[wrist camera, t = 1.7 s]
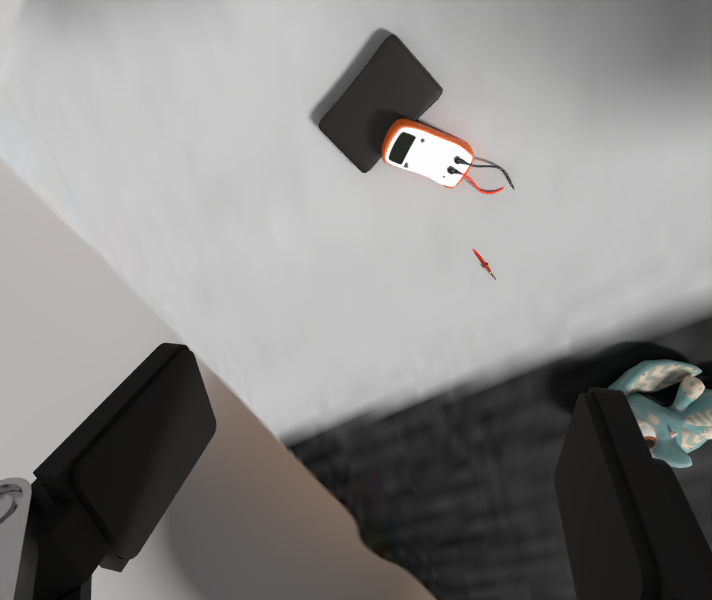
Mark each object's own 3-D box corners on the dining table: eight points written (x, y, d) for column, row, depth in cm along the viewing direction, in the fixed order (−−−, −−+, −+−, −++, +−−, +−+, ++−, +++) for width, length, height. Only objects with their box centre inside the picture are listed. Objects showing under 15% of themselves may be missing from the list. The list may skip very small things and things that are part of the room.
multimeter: (615, 207, 29) (631, 225, 26) (466, 293, 35) (465, 316, 32) (458, -34, 24) (455, -43, 21) (317, 115, 30) (301, 123, 27)
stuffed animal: (811, 483, 30) (634, 528, 33) (736, 413, 36) (593, 457, 39) (792, 373, 26) (593, 437, 29) (712, 316, 32) (556, 374, 35)
